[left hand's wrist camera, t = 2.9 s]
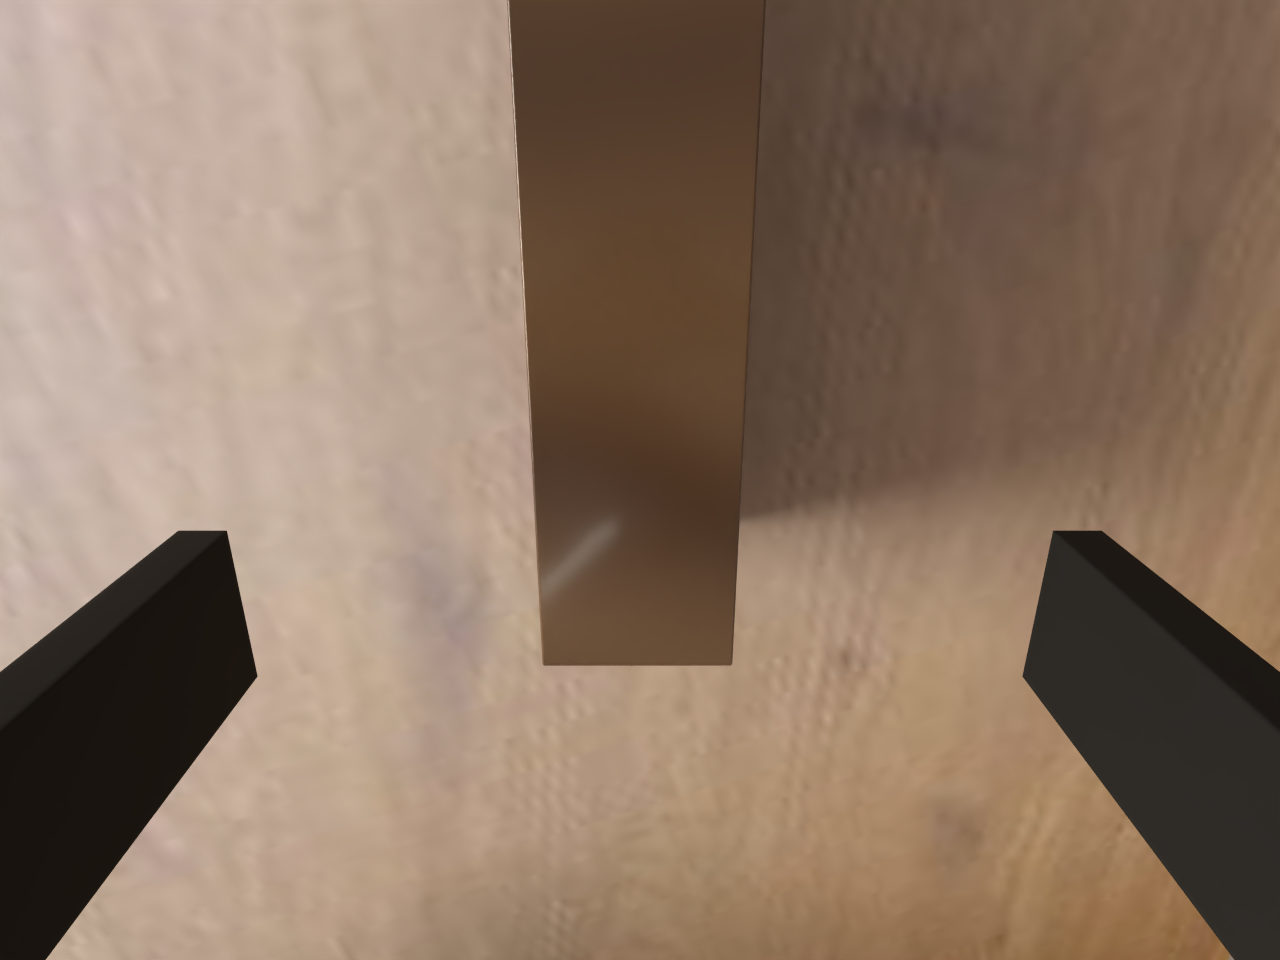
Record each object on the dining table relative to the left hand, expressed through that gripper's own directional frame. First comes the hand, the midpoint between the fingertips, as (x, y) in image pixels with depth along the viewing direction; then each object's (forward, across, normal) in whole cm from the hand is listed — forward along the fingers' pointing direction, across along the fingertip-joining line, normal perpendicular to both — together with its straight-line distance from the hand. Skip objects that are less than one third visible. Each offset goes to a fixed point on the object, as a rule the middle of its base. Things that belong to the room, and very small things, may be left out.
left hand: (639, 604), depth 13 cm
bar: (+15, 0, -27) cm, 31 cm away
